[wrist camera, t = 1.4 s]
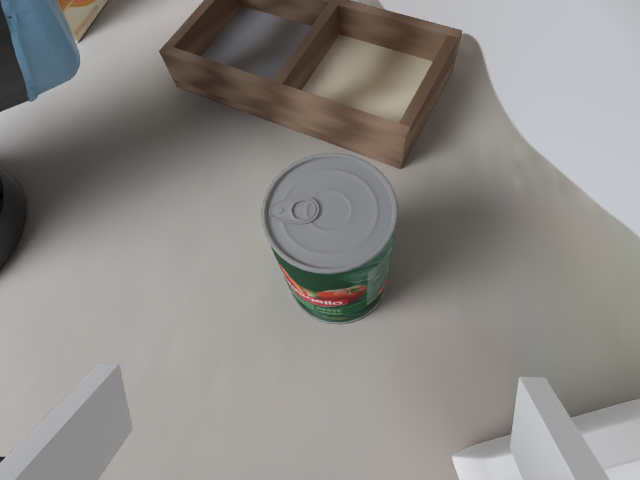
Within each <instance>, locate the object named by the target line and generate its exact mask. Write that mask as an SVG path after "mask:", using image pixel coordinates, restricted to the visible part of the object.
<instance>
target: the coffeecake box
mask: <svg viewBox="0 0 640 480" xmlns="http://www.w3.org/2000/svg"><path fill="white" fill-rule="evenodd" d="M107 1H108V0H58V2H59V4H60V7H61V9H62V11H63V13H64V15H65V18H66V20H67V22H68V25H69V27H70V29H71V32H72V34H73V37H74V39H75V42H76V43H78V42H79V40H80V39H81V38H82V36H83V35H84V33H85V32H86V30H87V29H88V28H89V26H90V25H91V24H92V22H93V21H94V19H95V18H96V17H97V15H98V14H99V12H100V11H101V10H102V8H103V7H104V5H105V4H106V3H107Z"/></svg>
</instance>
